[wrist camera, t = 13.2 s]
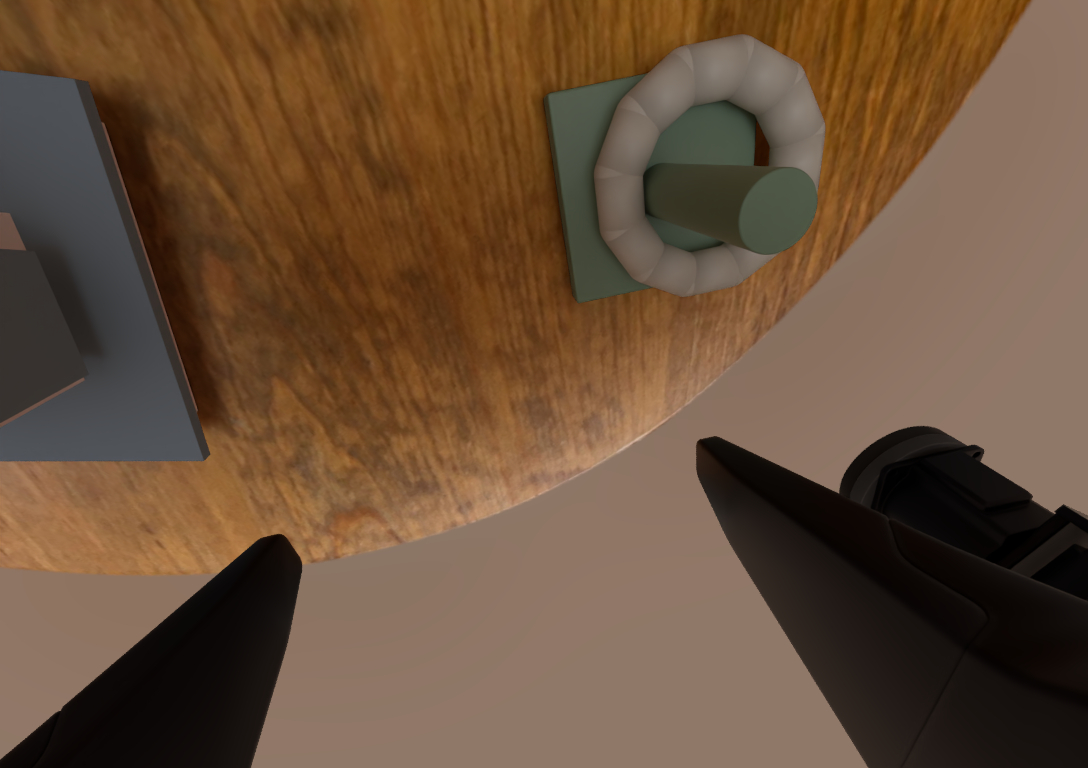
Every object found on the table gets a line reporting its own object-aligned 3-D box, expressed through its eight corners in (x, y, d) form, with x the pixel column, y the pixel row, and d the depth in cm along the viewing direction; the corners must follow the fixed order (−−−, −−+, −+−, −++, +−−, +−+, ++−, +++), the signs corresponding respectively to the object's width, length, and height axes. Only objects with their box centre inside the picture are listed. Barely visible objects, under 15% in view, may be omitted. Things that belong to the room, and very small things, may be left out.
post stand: (735, 261, 20) (899, 330, 12) (572, 296, 20) (631, 388, 12) (743, 56, 17) (989, -39, 8) (542, 97, 16) (599, 39, 8)
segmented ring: (790, 265, 20) (817, 275, 18) (604, 305, 19) (614, 318, 18) (815, 23, 15) (853, 7, 14) (577, 71, 15) (587, 61, 14)
